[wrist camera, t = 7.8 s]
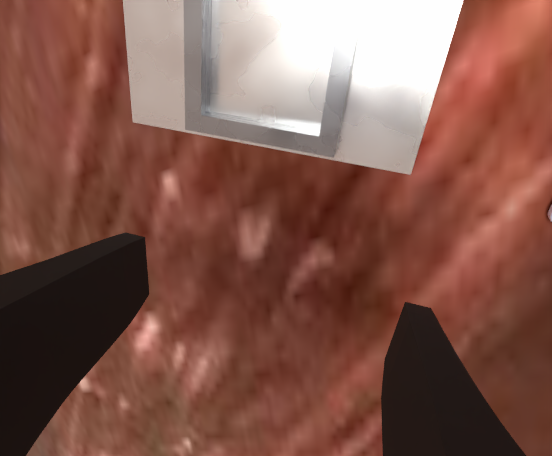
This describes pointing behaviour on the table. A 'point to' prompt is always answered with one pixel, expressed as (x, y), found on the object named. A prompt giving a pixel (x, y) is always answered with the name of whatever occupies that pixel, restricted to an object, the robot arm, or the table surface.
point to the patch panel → (292, 72)
